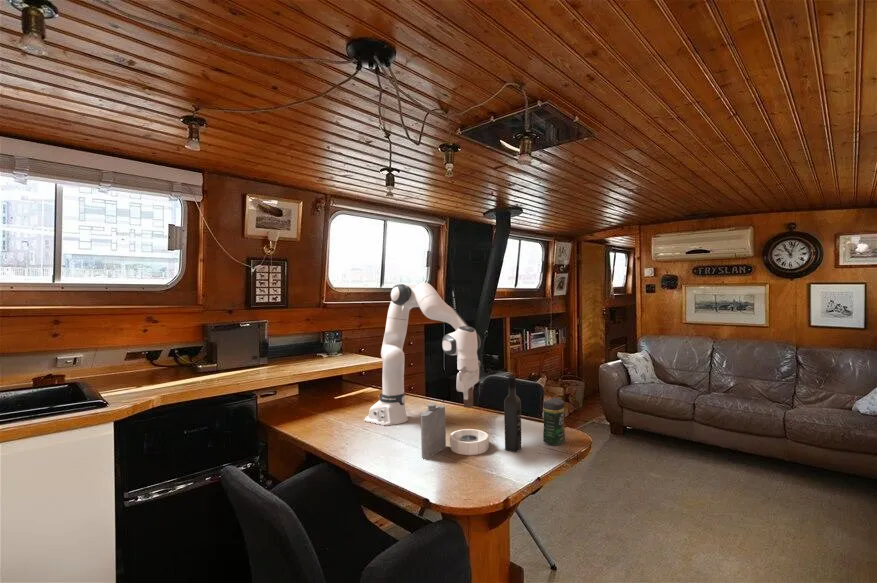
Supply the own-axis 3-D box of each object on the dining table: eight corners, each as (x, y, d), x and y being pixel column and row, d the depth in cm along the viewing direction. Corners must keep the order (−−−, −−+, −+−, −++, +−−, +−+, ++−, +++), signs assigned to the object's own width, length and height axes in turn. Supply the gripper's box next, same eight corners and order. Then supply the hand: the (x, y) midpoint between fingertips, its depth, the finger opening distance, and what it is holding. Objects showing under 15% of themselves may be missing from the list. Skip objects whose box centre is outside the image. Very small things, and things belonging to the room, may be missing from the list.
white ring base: (444, 451, 174) (444, 439, 174) (457, 438, 189) (457, 427, 189) (482, 457, 168) (481, 444, 168) (492, 442, 183) (492, 431, 182)
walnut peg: (471, 407, 175) (471, 388, 175) (462, 406, 177) (462, 388, 177) (474, 405, 179) (474, 386, 179) (465, 404, 181) (465, 385, 181)
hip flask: (426, 460, 166) (425, 409, 166) (418, 458, 168) (417, 408, 168) (447, 446, 180) (446, 400, 179) (439, 445, 182) (438, 399, 181)
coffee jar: (557, 447, 176) (556, 403, 176) (540, 442, 182) (539, 400, 181) (568, 440, 183) (567, 398, 183) (551, 436, 189) (550, 395, 188)
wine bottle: (522, 448, 176) (521, 377, 175) (516, 452, 171) (515, 379, 171) (510, 445, 179) (508, 375, 179) (504, 450, 174) (502, 378, 174)
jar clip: (458, 447, 176) (458, 439, 176) (463, 440, 183) (463, 434, 183) (474, 449, 173) (474, 441, 173) (479, 443, 180) (479, 436, 180)
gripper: (467, 370, 167) (467, 404, 167) (481, 361, 186) (482, 392, 186) (452, 369, 169) (453, 403, 170) (467, 360, 188) (468, 391, 189)
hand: (468, 397), depth 178 cm, fingers closed on walnut peg, 4 cm apart
